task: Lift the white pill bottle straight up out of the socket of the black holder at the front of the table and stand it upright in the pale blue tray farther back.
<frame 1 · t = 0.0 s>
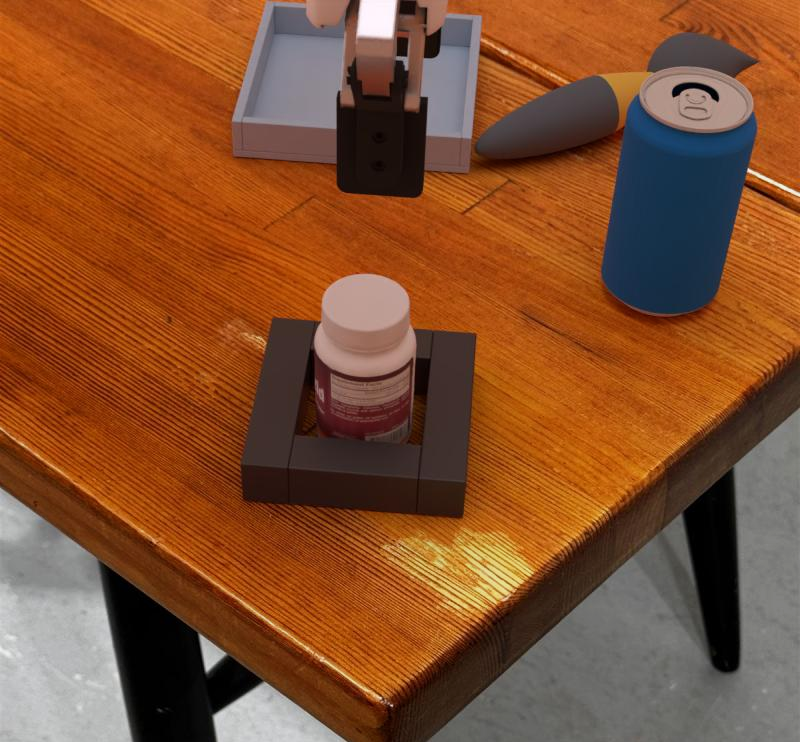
hand: (391, 118, 57), 19 cm above the table, tool pointing down, fingers open, 9 cm apart
beverage can: (657, 290, 80), on the table
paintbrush: (615, 134, 91), on the table
pill bottle: (363, 434, 72), resting in holder
holder: (363, 431, 72), on the table
tray: (362, 100, 92), on the table
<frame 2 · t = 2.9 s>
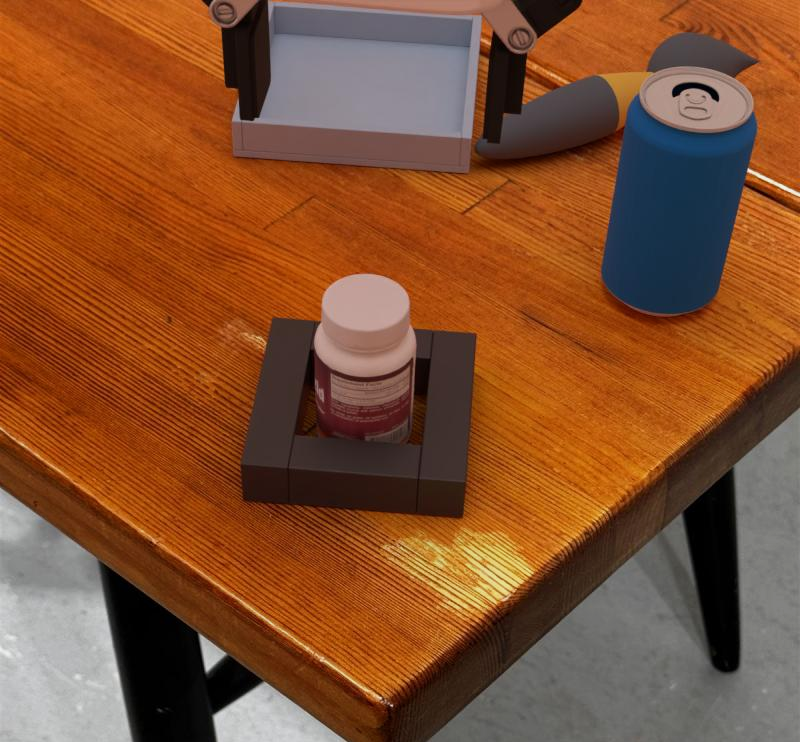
hand: (374, 113, 58), 18 cm above the table, tool pointing down, fingers open, 9 cm apart
nothing on the table moved.
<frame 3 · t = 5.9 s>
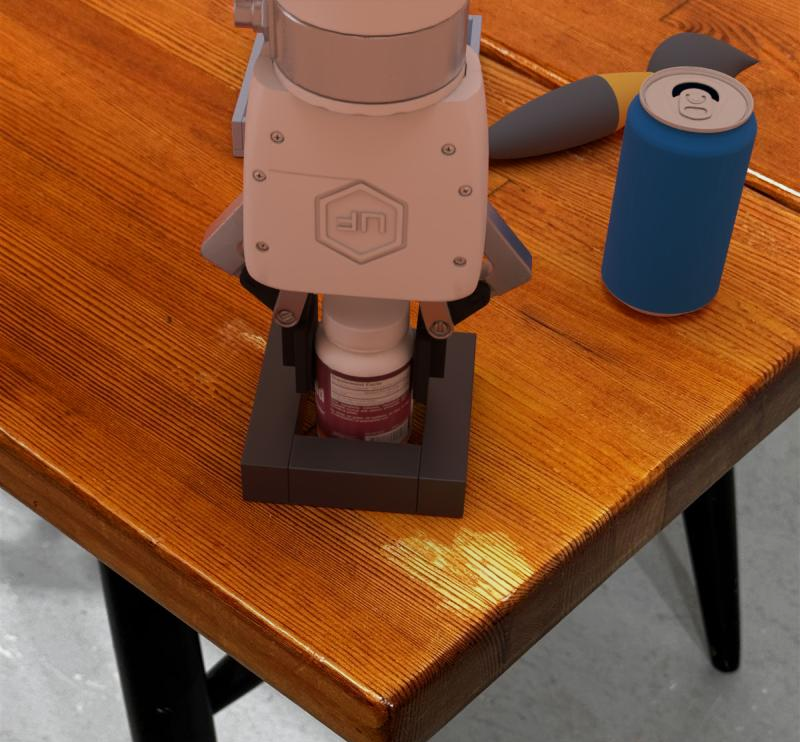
hand: (364, 375, 69), 4 cm above the table, tool pointing down, fingers closed on pill bottle, 4 cm apart
pill bottle: (363, 434, 72), resting in holder, touching gripper
everything else where it was.
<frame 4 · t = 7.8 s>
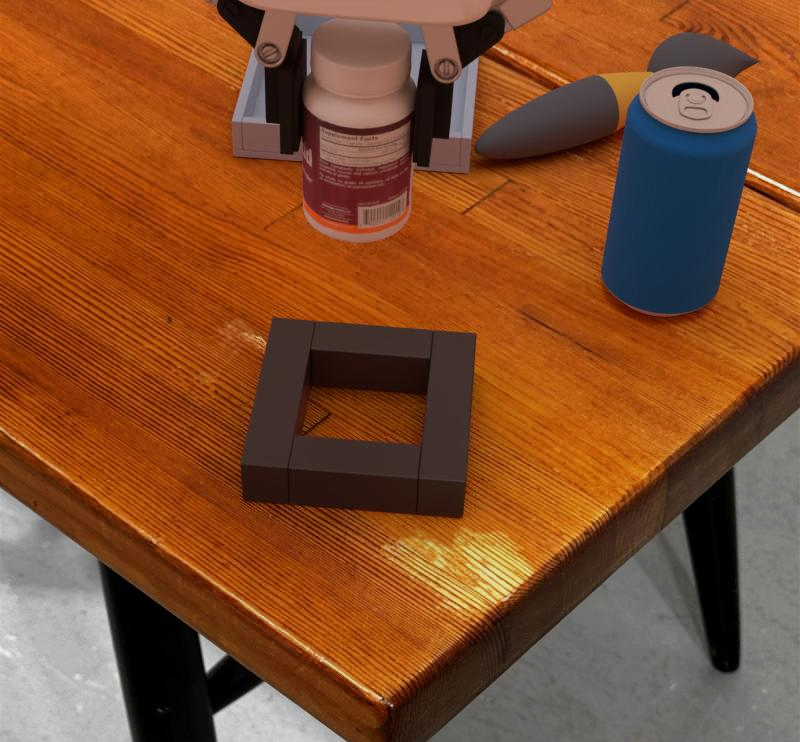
hand: (358, 138, 61), 16 cm above the table, tool pointing down, fingers closed on pill bottle, 4 cm apart
pill bottle: (356, 216, 64), point 12 cm above the table, touching gripper
everything else where it was.
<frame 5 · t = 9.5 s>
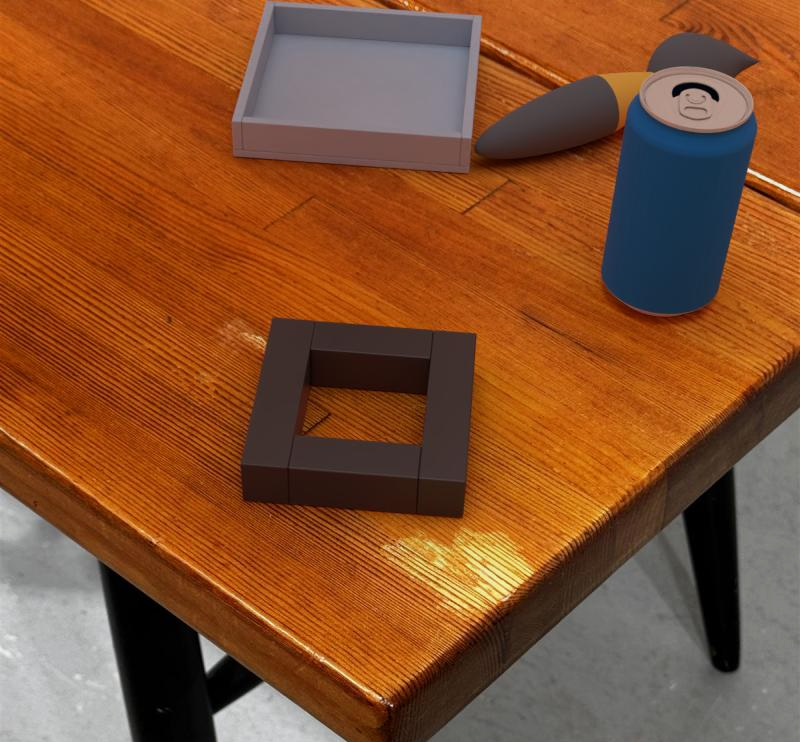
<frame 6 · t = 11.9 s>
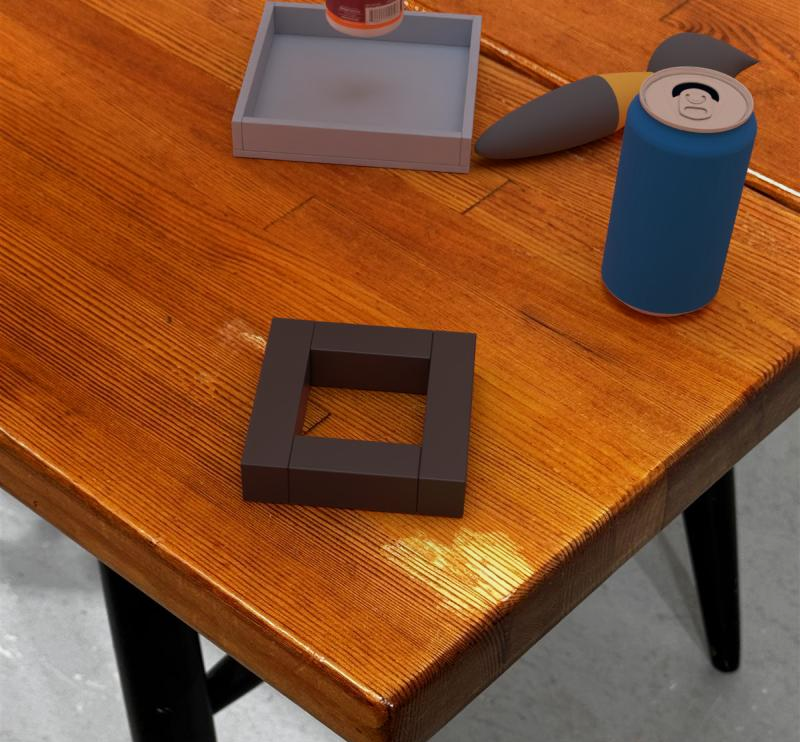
pill bottle: (364, 22, 88), point 5 cm above the table, touching gripper
everything else where it was.
when the fingers open (4 cm above the table, at t = 13.5 s): pill bottle stays where it is, resting on tray.
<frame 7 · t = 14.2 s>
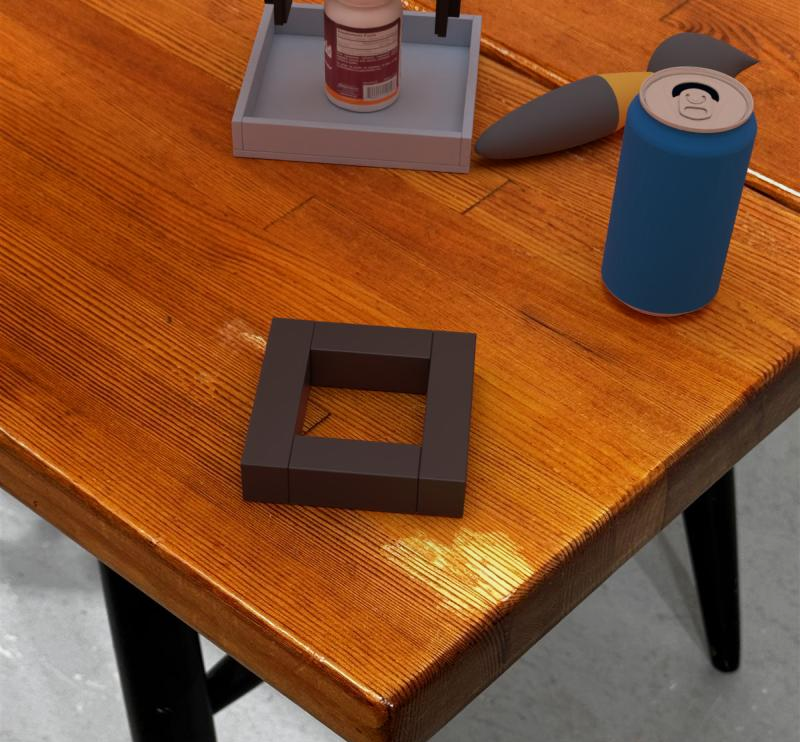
hand: (362, 20, 88), 6 cm above the table, tool pointing down, fingers open, 9 cm apart
pill bottle: (362, 96, 92), resting on tray
everything else where it was.
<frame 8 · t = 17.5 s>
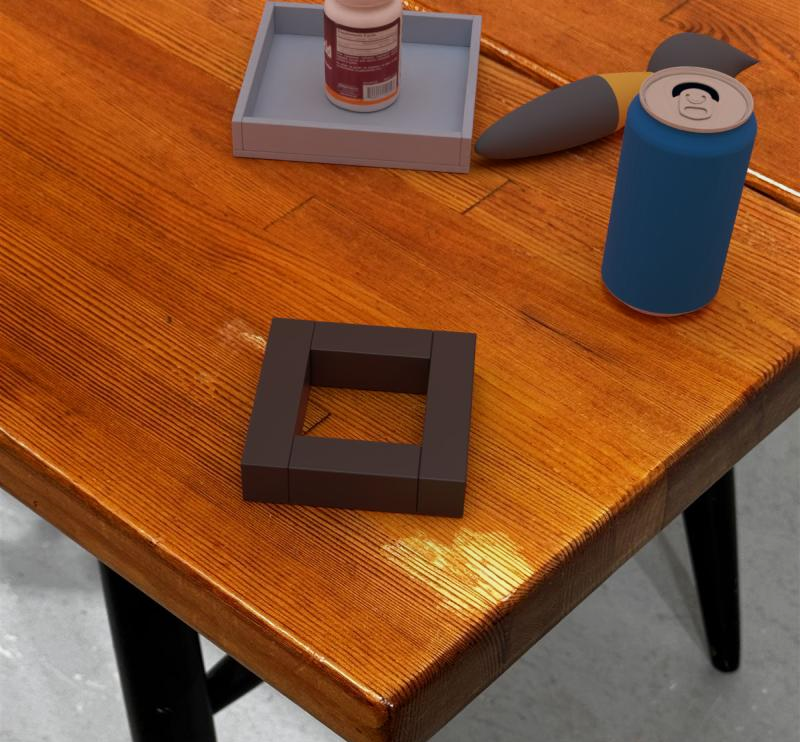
nothing on the table moved.
at the end: pill bottle inside the target area in the tray (0.0 cm from its centre), point 0.3 cm above the tray's base; pill bottle tilted 0°; pill bottle touching tray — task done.
